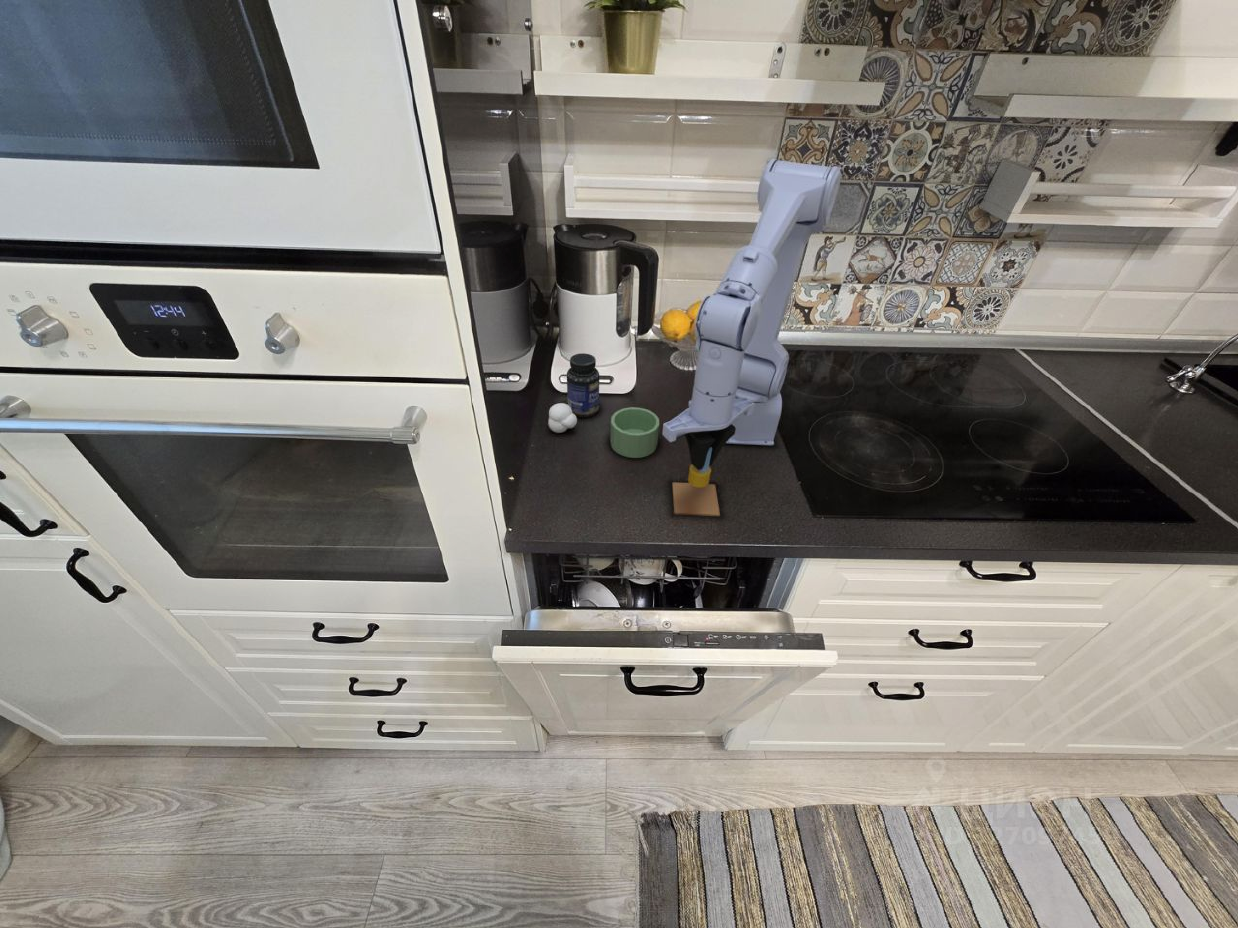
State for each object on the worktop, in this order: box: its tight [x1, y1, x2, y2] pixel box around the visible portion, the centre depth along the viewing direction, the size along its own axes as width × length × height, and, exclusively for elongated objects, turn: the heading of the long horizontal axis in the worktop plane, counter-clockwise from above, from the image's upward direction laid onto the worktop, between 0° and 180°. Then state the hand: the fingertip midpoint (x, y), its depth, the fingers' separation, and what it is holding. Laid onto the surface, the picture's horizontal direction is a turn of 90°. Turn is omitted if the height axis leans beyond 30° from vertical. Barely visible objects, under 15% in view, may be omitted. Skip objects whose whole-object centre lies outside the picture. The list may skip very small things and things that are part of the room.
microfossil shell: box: [547, 402, 578, 434], centre depth 93 cm, size 4×5×6 cm
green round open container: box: [609, 406, 660, 459], centre depth 91 cm, size 8×8×5 cm
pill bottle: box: [566, 353, 600, 419], centre depth 97 cm, size 6×6×11 cm
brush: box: [687, 447, 712, 488], centre depth 77 cm, size 3×3×7 cm
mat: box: [671, 482, 721, 517], centre depth 82 cm, size 7×7×1 cm
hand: (701, 463), depth 77 cm, fingers closed on brush
